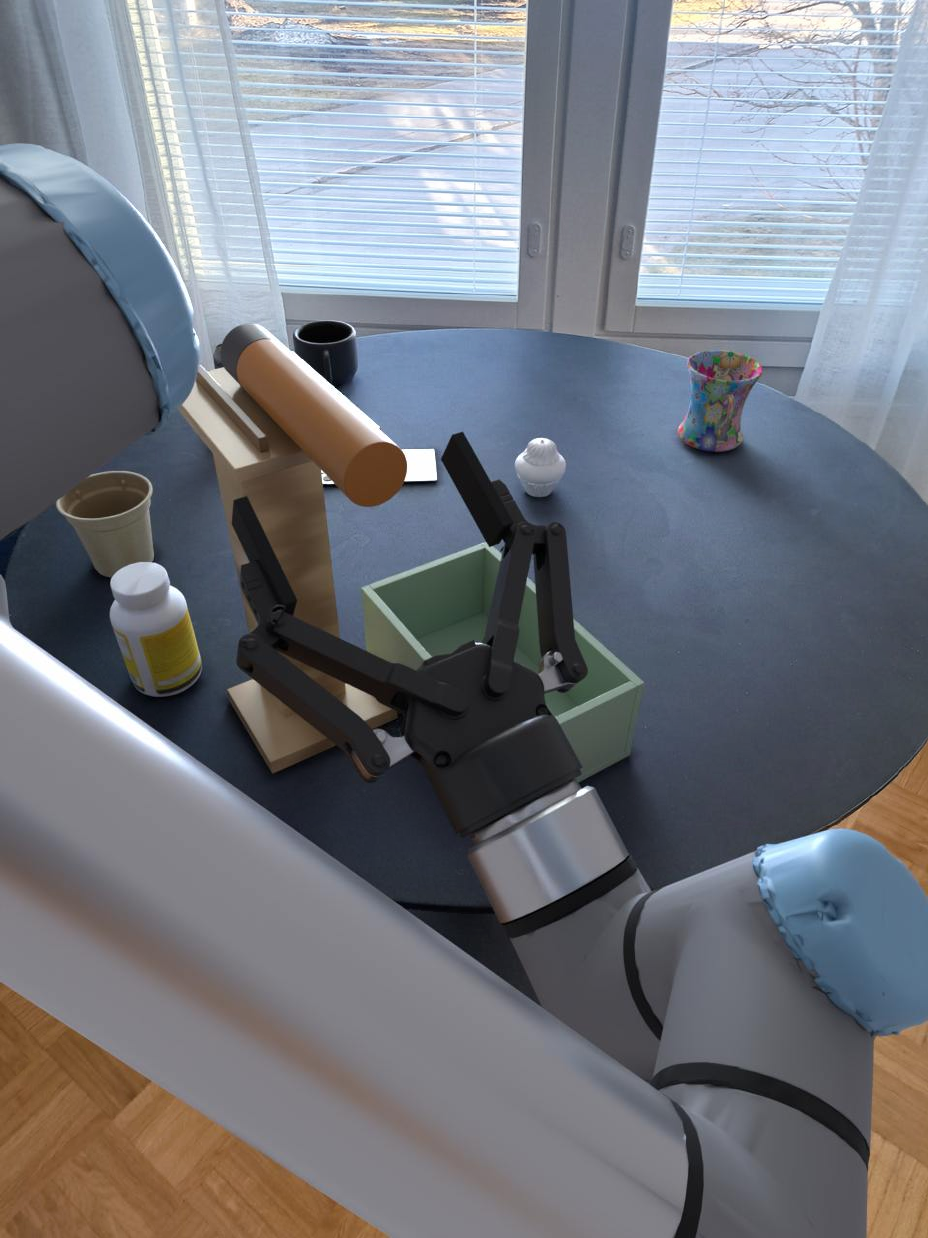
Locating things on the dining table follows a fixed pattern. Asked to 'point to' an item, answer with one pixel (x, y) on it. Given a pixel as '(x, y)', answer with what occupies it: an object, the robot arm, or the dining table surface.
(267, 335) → the orange brown cylinder
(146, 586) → the pill bottle
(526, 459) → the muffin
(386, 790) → the dining table surface
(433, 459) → the smartphone
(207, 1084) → the robot arm
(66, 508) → the flower pot
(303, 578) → the stand
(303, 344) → the mug
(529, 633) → the bin
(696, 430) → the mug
